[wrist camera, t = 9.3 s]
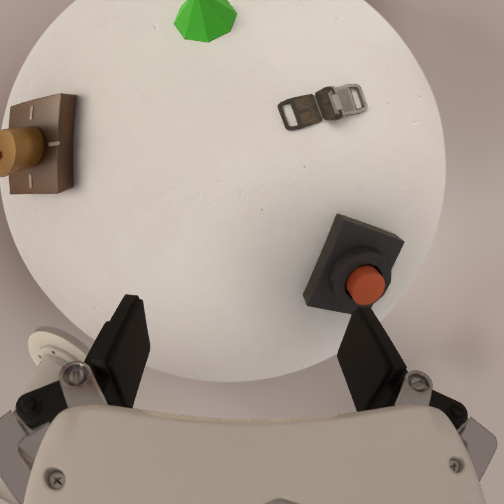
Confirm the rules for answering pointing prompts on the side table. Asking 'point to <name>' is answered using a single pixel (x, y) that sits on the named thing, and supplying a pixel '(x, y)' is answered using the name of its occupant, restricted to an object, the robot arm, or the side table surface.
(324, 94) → the strap clip
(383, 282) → the button
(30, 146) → the knob
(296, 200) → the side table surface
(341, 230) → the button box
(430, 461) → the robot arm
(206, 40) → the gemstone
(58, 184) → the panel
